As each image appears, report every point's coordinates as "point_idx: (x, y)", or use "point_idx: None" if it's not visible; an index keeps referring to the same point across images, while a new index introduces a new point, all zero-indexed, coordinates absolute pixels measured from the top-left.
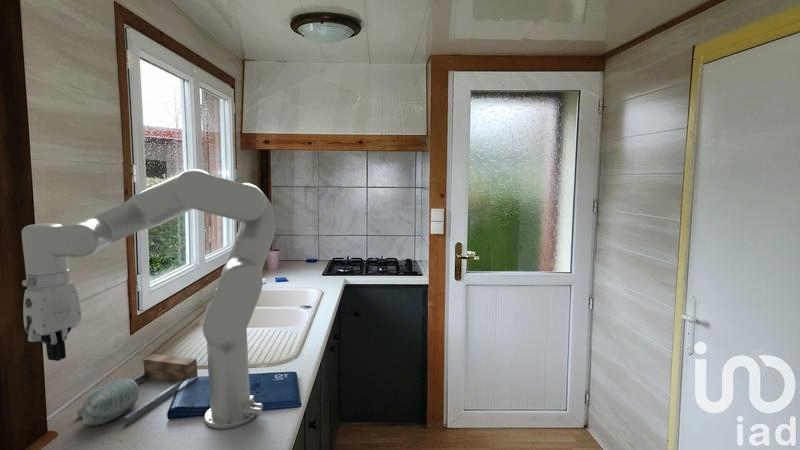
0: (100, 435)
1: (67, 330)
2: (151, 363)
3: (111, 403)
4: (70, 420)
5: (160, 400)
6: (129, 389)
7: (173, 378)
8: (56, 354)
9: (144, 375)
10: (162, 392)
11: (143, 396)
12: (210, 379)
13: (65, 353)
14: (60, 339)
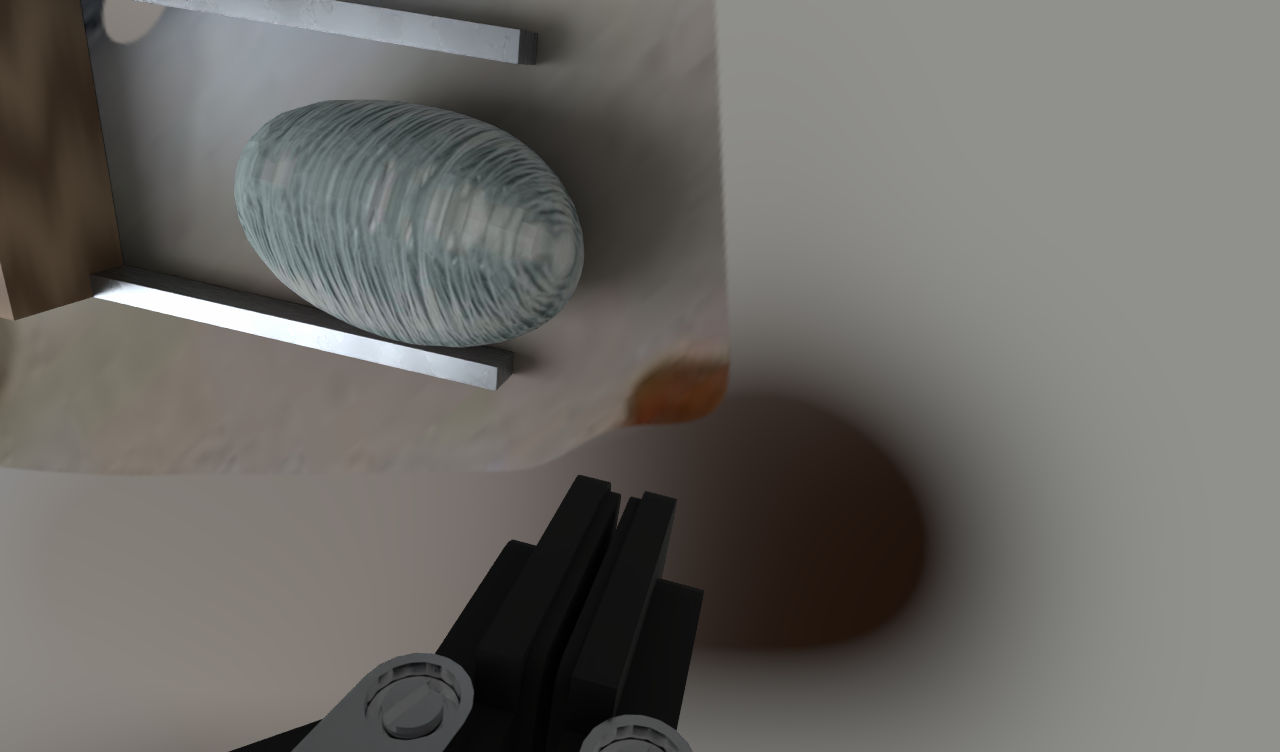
0: (644, 133)
1: None
2: (21, 255)
3: (483, 151)
4: (539, 393)
5: None
6: (325, 130)
7: (71, 81)
8: (657, 581)
9: (116, 276)
10: (223, 7)
11: None
12: None
13: (563, 502)
14: (473, 738)
